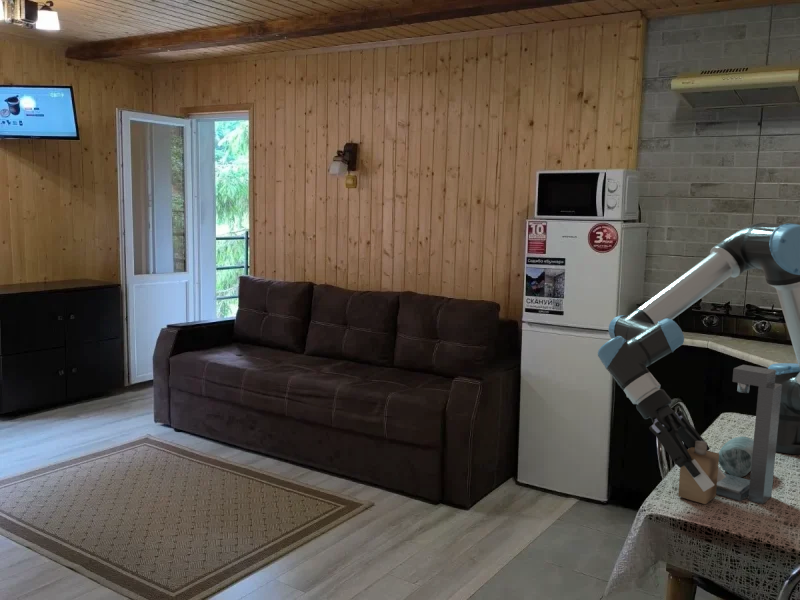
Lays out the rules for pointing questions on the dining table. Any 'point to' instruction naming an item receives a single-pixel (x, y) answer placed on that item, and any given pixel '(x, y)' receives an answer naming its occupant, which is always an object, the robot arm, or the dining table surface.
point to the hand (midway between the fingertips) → (714, 484)
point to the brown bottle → (710, 467)
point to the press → (757, 436)
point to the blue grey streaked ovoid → (737, 456)
